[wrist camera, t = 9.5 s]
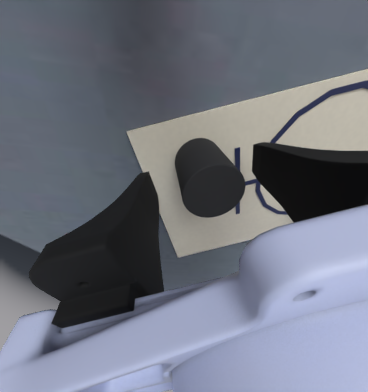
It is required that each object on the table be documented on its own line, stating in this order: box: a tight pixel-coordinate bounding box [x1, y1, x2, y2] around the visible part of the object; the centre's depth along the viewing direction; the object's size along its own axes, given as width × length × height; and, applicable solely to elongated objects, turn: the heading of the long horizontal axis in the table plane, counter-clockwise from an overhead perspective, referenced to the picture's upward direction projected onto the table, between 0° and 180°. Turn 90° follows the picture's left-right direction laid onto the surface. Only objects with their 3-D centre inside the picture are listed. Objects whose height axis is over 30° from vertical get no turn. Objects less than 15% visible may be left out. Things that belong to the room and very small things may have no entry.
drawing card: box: [127, 69, 368, 258], centre depth 15 cm, size 15×22×1 cm
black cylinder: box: [175, 138, 245, 218], centre depth 11 cm, size 4×4×4 cm
